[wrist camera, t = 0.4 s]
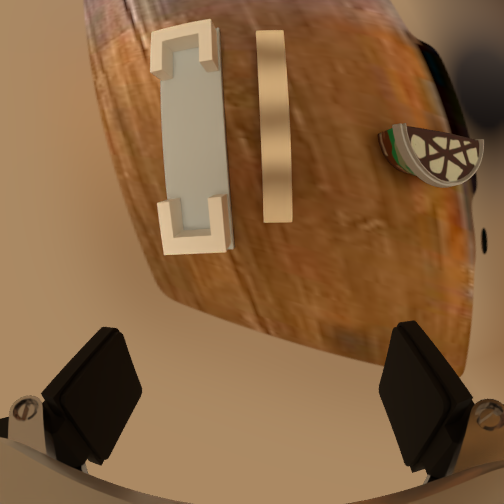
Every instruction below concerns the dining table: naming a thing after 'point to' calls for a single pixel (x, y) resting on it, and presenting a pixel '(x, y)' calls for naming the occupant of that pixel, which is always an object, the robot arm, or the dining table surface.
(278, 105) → the slat
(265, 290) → the dining table surface
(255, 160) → the dining table surface
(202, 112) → the frame
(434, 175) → the food container
